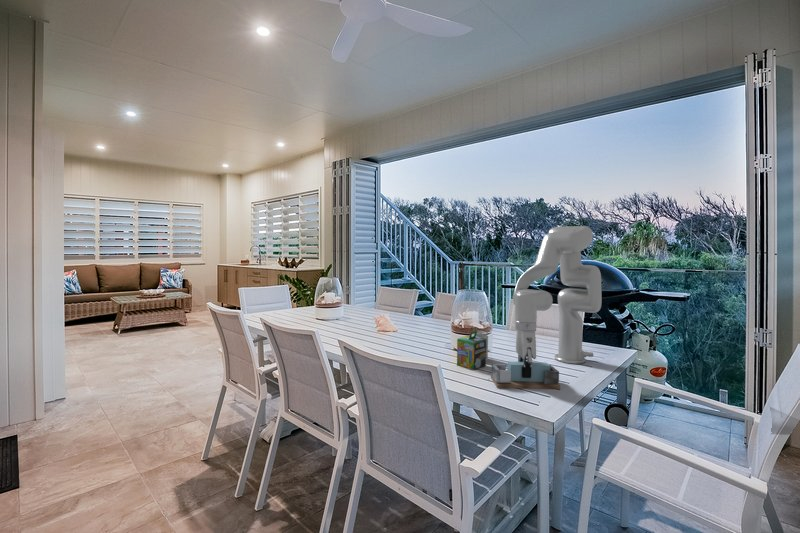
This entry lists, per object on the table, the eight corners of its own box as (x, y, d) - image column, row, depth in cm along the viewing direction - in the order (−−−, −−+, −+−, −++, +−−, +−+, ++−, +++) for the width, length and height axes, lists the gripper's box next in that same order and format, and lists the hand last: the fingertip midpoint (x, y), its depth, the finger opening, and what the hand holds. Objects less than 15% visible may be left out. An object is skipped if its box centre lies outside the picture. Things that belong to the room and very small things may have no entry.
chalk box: (468, 361, 173) (469, 327, 172) (486, 365, 167) (487, 330, 166) (455, 365, 167) (456, 330, 166) (474, 370, 160) (474, 334, 159)
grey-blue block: (545, 378, 147) (546, 362, 147) (549, 382, 143) (549, 365, 143) (507, 377, 147) (508, 361, 147) (510, 380, 143) (510, 364, 143)
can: (486, 356, 180) (487, 330, 179) (488, 361, 172) (489, 334, 172) (469, 356, 181) (470, 330, 180) (471, 360, 173) (471, 333, 172)
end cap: (504, 375, 150) (505, 364, 149) (510, 382, 141) (510, 371, 141) (491, 374, 150) (491, 364, 149) (496, 382, 141) (496, 371, 141)
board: (549, 378, 150) (549, 363, 150) (560, 389, 139) (560, 373, 139) (490, 377, 151) (491, 362, 151) (497, 388, 140) (497, 372, 140)
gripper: (543, 331, 136) (542, 383, 137) (528, 321, 153) (527, 368, 153) (521, 330, 136) (520, 383, 137) (509, 321, 153) (508, 368, 154)
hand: (524, 374), depth 145 cm, fingers open, 4 cm apart
